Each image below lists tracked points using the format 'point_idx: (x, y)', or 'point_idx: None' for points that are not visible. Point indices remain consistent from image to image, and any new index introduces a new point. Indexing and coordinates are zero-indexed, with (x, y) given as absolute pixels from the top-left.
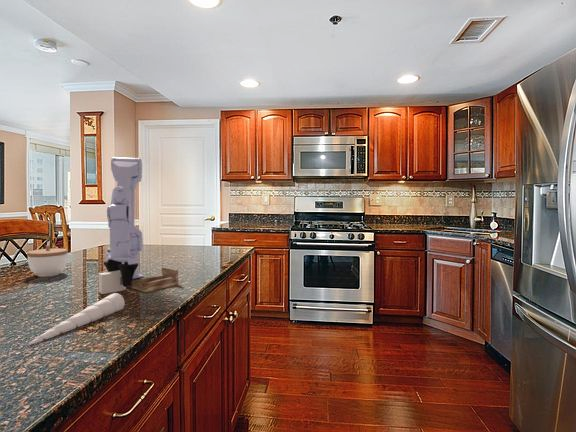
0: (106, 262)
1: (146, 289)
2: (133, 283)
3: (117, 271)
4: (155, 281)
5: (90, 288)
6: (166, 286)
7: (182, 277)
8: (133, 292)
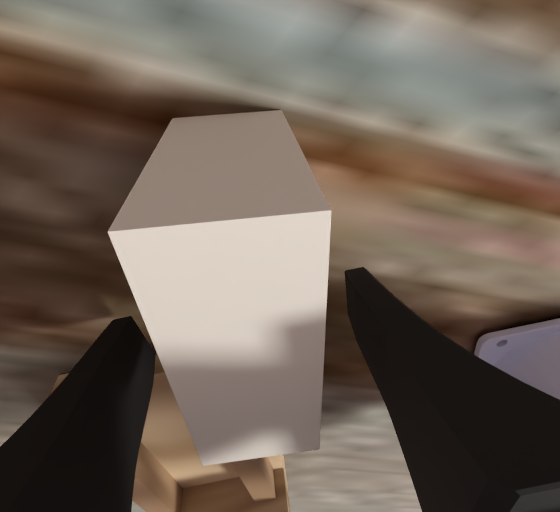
0: (524, 502)
1: None
2: None
3: (262, 419)
4: None
5: (512, 77)
6: None
7: (292, 498)
8: (93, 325)
